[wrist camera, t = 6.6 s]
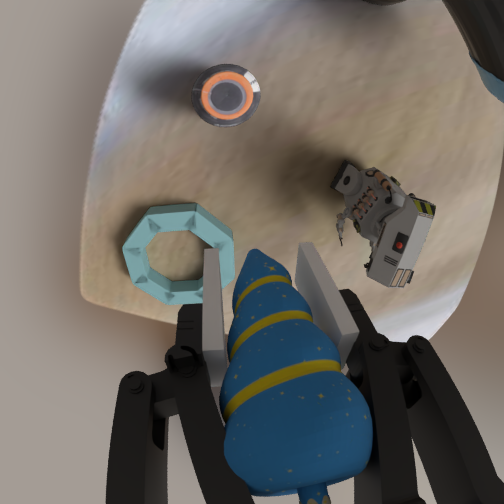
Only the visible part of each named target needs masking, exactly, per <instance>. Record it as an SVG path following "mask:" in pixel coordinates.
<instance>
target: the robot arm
mask: <svg viewBox="0 0 504 504" xmlns="http://www.w3.org/2000/svg"><path fill="white" fill-rule="evenodd" d="M363 1H366V2H369V3H372V4H377V5H393V4H396V3H400V2H403V1H406V0H363ZM442 1H443V3H444V4H445V6H446V8H447V9H448V11H449V13H450V14H451V16H452V18H453V20H454V21H455V23H456V25H457V27H458V29H459V31H460V33H461V35H462V37H463V39H464V41H465V43H466V45H467V47H468V50H469V55H470V57H471V59H472V61H473V62H474V64H475V65H476V67H477V70H478V72H479V74H480V76H481V79H482V81H483V83H484V85H485V87H486V88H487V89H488V91H489V92H490V93H491V94H493V95H494V96H495V97H497V99H498V100H500V101H501V102H503V103H504V0H442ZM295 284H296V286H297V289H298V292H299V293H300V294H301V295H302V296H303V297H304V299H305V300H306V302H307V303H308V305H309V306H310V309H311V312H312V316H313V323H314V324H315V325H316V326H317V327H318V328H320V329H321V330H322V331H323V332H324V333H325V334H326V335H327V336H328V337H329V338H330V339H331V340H332V341H333V343H334V344H335V346H336V347H337V349H338V351H339V353H340V359H341V370H342V369H343V368H344V366H345V363H347V366H348V368H349V370H348V372H347V374H346V377H347V378H348V379H349V380H350V381H351V382H352V383H353V384H354V385H355V386H356V387H357V388H358V390H359V391H360V392H361V394H362V395H363V396H364V398H365V400H366V402H367V405H368V407H369V410H370V414H371V418H372V427H373V442H372V451H371V455H370V460H369V462H368V464H367V466H366V468H365V469H364V470H363V471H362V472H361V473H360V474H358V475H356V476H354V504H426V502H425V501H424V500H423V499H422V498H420V497H419V495H418V490H417V477H416V467H415V459H414V452H413V444H412V439H413V441H414V444H415V446H416V449H417V451H418V454H419V456H420V459H421V461H422V463H423V466H424V469H425V472H426V474H427V477H428V480H429V483H430V485H431V488H432V491H433V494H434V497H435V500H436V502H437V504H504V483H503V482H502V481H501V479H500V478H499V477H498V476H497V474H496V471H495V468H494V466H493V463H492V461H491V458H490V456H489V453H488V451H487V449H486V446H485V444H484V442H483V439H482V437H481V435H480V433H479V431H478V428H477V426H476V425H475V422H474V420H473V418H472V416H471V414H470V412H469V410H468V408H467V406H466V404H465V402H464V400H463V399H462V397H461V395H460V393H459V391H458V389H457V388H456V386H455V384H454V382H453V381H452V379H451V377H450V375H449V373H448V372H447V370H446V368H445V367H444V365H443V363H442V362H441V360H440V358H439V357H438V355H437V353H436V352H435V350H434V349H433V347H432V345H431V344H430V342H429V341H428V340H427V339H426V338H424V337H422V336H418V335H415V336H412V337H410V338H409V339H408V341H407V343H405V342H392V341H389V339H388V338H386V337H385V336H384V335H382V334H380V333H377V331H376V329H375V328H374V326H373V324H372V322H371V320H370V318H369V317H368V315H367V313H366V311H365V310H364V308H363V306H362V304H361V302H360V301H359V299H358V297H357V295H356V294H354V293H353V292H352V291H351V290H350V289H343V290H338V288H337V287H336V285H335V283H334V281H333V279H332V277H331V275H330V274H329V272H328V270H327V268H326V266H325V264H324V263H323V261H322V259H321V257H320V255H319V254H318V252H317V250H316V248H315V246H314V245H313V243H312V242H306V243H299V248H298V257H297V266H296V274H295ZM177 322H178V323H177V331H176V342H175V345H174V346H172V347H171V348H170V349H169V350H168V351H167V353H166V355H165V363H166V365H167V369H165V370H163V371H161V372H158V373H155V374H151V375H147V374H145V373H144V372H140V371H133V372H130V373H128V374H126V375H125V376H124V377H123V378H122V380H121V382H120V385H119V390H118V395H117V401H116V407H115V413H114V419H113V426H112V433H111V442H110V450H109V459H108V471H107V485H106V504H168V498H167V497H168V494H167V455H168V454H167V453H168V424H169V417H170V416H173V415H177V414H179V416H180V420H181V424H182V428H183V432H184V435H185V439H186V443H187V446H188V450H189V453H190V456H191V460H192V463H193V466H194V470H195V473H196V476H197V479H198V482H199V485H200V488H201V490H202V493H203V496H204V499H205V501H206V504H255V503H254V501H253V499H252V496H251V494H250V492H249V489H248V487H247V485H246V482H245V481H244V480H243V479H242V478H240V477H239V476H238V475H236V474H235V473H234V471H233V470H232V469H231V468H230V466H229V465H228V462H227V460H226V458H225V455H224V441H225V437H226V431H225V429H224V426H223V423H222V420H221V417H220V414H219V412H218V409H217V406H216V403H215V400H214V397H213V393H212V391H211V387H216V386H222V382H223V379H224V376H225V374H226V371H227V357H226V345H225V331H224V316H223V300H222V284H221V273H220V261H219V248H212V249H204V271H203V303H196V304H183V306H182V307H181V309H180V310H179V312H178V320H177Z"/></svg>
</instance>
